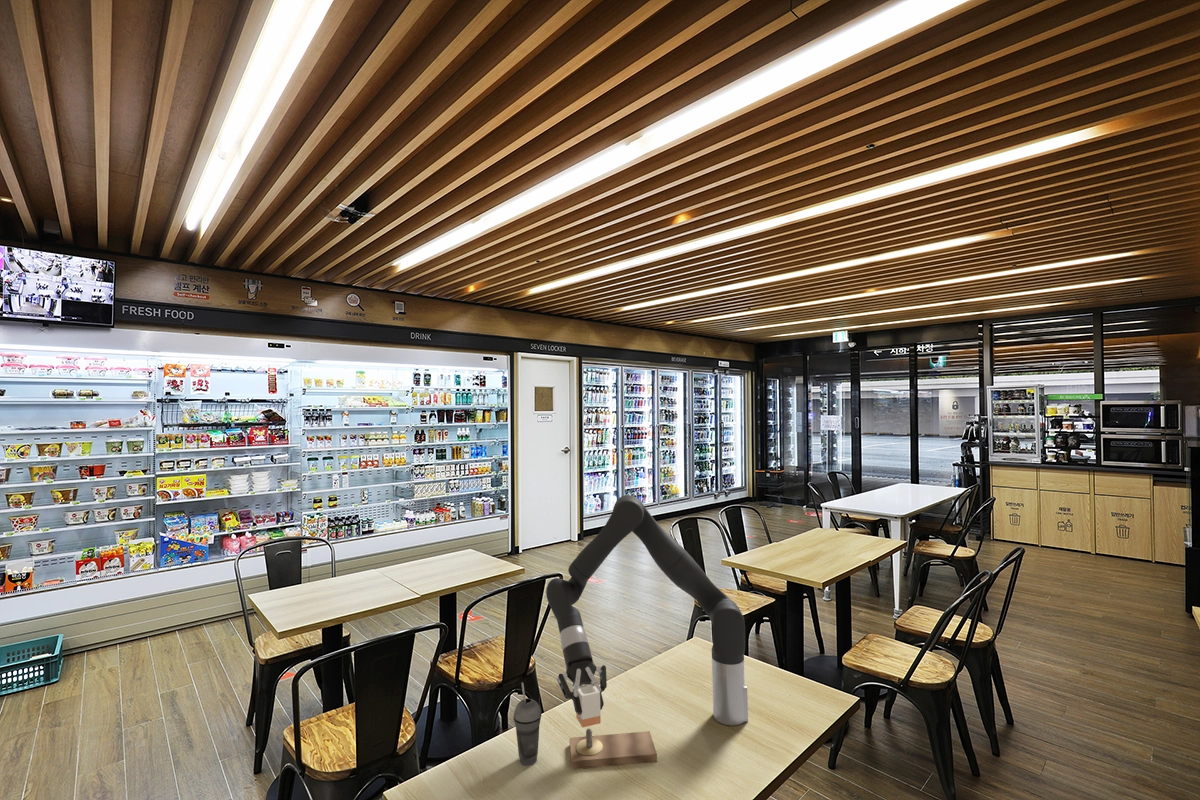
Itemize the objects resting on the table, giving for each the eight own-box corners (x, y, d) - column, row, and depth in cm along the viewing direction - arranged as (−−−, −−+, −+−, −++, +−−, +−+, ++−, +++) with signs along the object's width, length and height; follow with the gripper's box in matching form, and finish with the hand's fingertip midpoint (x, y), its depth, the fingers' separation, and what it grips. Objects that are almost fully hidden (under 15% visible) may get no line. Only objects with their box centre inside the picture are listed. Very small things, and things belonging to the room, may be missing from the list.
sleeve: (576, 717, 146) (575, 687, 146) (594, 713, 148) (593, 683, 148) (582, 727, 141) (581, 696, 141) (600, 723, 143) (600, 692, 143)
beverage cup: (537, 771, 138) (535, 691, 139) (510, 768, 140) (508, 689, 140) (545, 753, 145) (544, 677, 146) (519, 750, 147) (518, 675, 147)
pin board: (649, 738, 151) (649, 713, 151) (657, 761, 141) (656, 734, 141) (569, 745, 149) (569, 719, 149) (571, 769, 139) (570, 742, 139)
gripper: (553, 645, 149) (567, 712, 138) (602, 636, 154) (619, 700, 143) (548, 656, 154) (561, 722, 142) (596, 647, 159) (612, 710, 148)
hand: (590, 711), depth 143 cm, fingers closed on sleeve, 5 cm apart
